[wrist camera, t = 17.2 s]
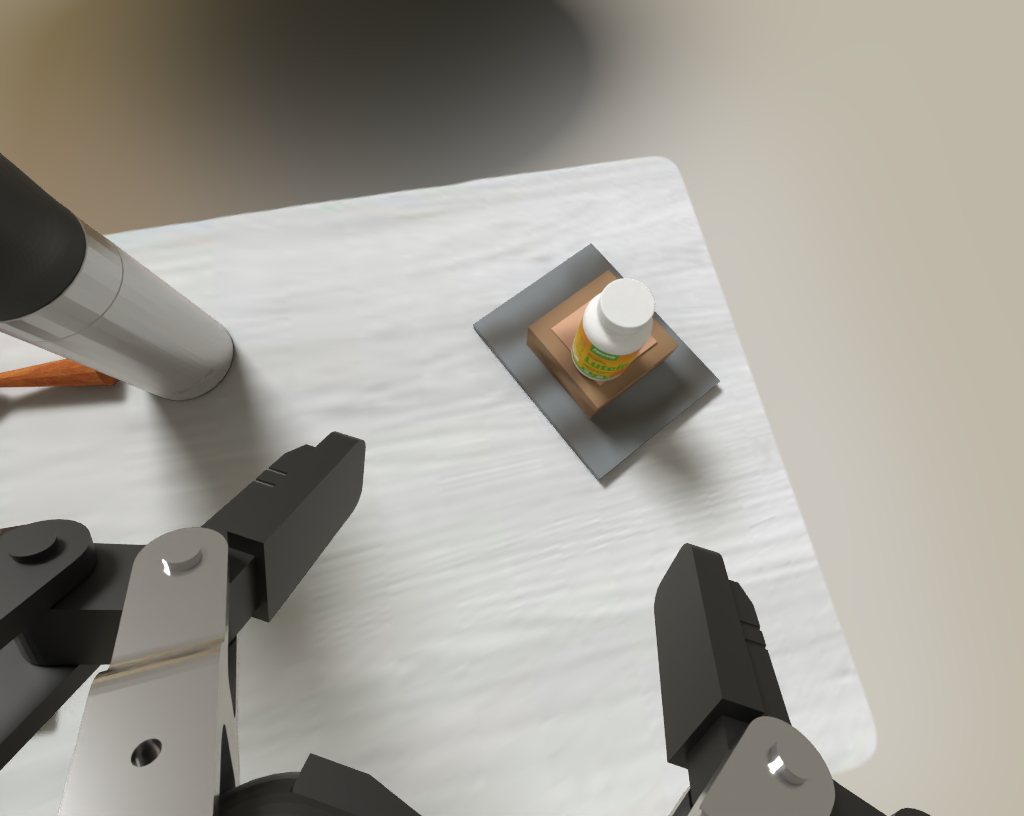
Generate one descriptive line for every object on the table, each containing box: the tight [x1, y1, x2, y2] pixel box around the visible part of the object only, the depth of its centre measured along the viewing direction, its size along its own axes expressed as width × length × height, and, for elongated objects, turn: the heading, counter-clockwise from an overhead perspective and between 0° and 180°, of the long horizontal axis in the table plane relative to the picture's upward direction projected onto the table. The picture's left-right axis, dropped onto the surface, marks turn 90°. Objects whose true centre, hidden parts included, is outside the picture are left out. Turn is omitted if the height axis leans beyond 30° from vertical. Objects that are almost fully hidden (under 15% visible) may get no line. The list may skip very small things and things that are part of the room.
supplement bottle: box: [572, 278, 655, 381], centre depth 37 cm, size 5×5×10 cm
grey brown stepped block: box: [473, 244, 720, 480], centre depth 45 cm, size 20×16×5 cm
